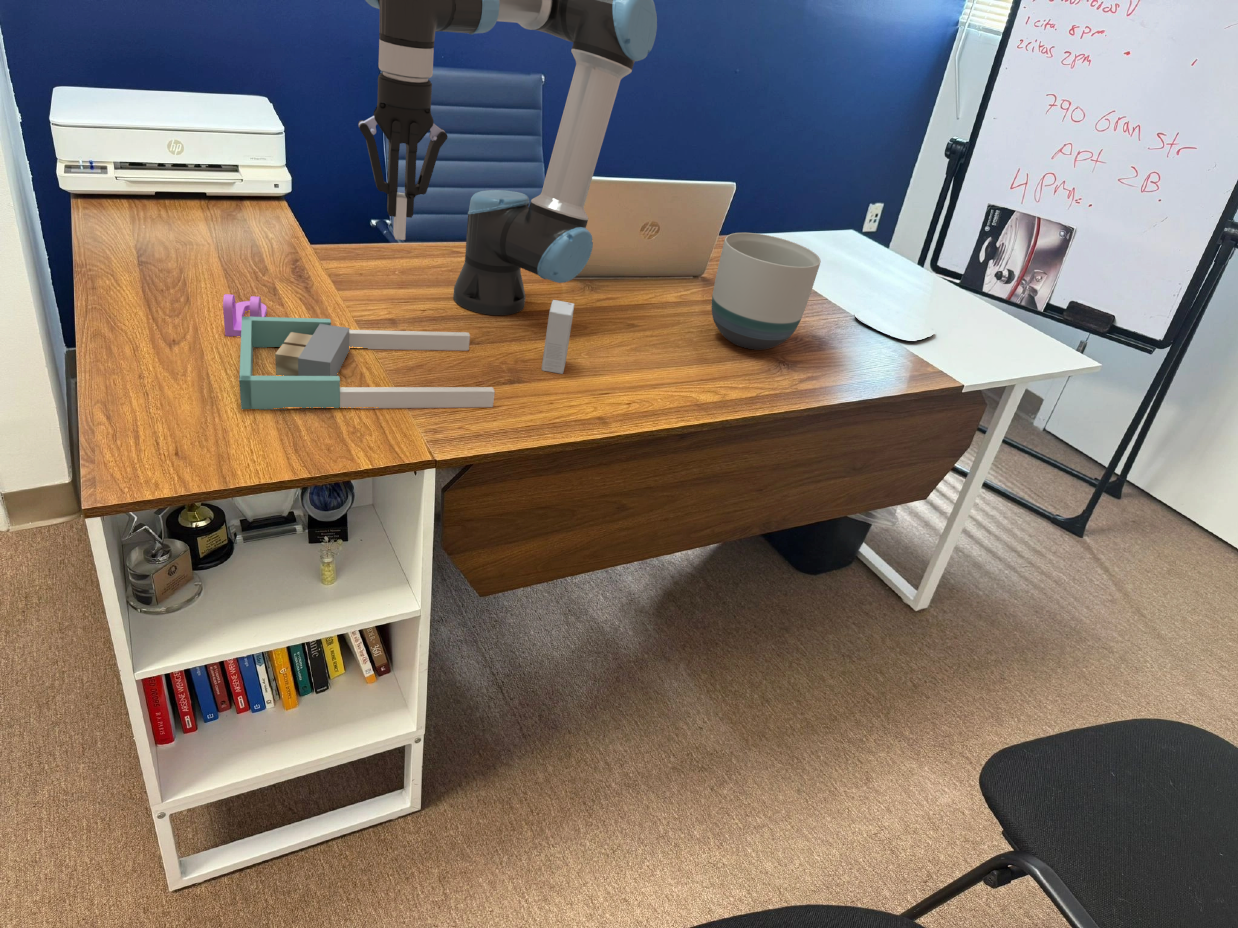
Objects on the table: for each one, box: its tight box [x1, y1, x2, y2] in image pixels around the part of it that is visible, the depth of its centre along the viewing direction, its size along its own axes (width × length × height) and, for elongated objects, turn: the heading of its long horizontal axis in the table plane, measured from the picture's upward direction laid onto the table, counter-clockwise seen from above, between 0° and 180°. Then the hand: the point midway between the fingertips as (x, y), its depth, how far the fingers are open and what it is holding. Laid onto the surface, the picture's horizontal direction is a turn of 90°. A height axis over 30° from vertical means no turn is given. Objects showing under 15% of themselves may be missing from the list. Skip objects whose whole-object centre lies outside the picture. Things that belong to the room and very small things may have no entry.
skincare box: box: [541, 299, 575, 375], centre depth 156 cm, size 6×4×12 cm
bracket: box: [222, 293, 268, 338], centre depth 151 cm, size 13×6×7 cm, turn 13°
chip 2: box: [274, 344, 305, 376], centre depth 139 cm, size 4×4×4 cm
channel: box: [340, 329, 496, 409], centre depth 146 cm, size 24×23×3 cm
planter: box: [711, 232, 822, 351], centre depth 181 cm, size 20×20×21 cm
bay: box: [238, 315, 341, 411], centre depth 138 cm, size 14×23×5 cm, turn 20°
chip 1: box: [284, 332, 312, 347], centre depth 143 cm, size 4×4×4 cm
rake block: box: [298, 324, 350, 376], centre depth 142 cm, size 5×14×5 cm, turn 4°
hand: (399, 236), depth 133 cm, fingers closed
